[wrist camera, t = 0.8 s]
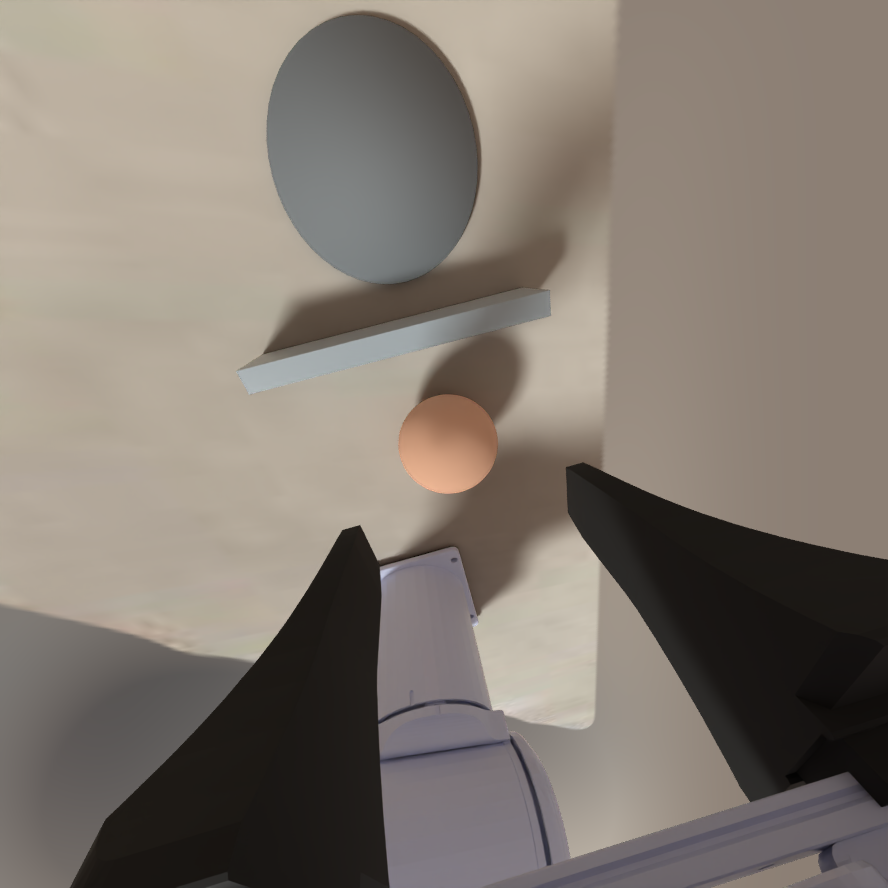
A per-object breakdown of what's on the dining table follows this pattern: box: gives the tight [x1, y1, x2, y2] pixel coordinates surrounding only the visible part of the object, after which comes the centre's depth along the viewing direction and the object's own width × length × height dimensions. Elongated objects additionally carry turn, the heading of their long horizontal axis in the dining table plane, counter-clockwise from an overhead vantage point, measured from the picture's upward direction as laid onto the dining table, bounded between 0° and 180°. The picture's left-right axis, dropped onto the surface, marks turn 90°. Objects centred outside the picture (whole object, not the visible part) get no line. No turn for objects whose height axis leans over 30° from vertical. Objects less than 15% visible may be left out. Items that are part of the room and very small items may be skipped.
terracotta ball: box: [398, 394, 498, 494], centre depth 16 cm, size 5×5×5 cm
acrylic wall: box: [236, 287, 551, 394], centre depth 14 cm, size 1×13×3 cm, turn 103°
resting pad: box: [267, 15, 478, 284], centre depth 13 cm, size 8×8×1 cm
